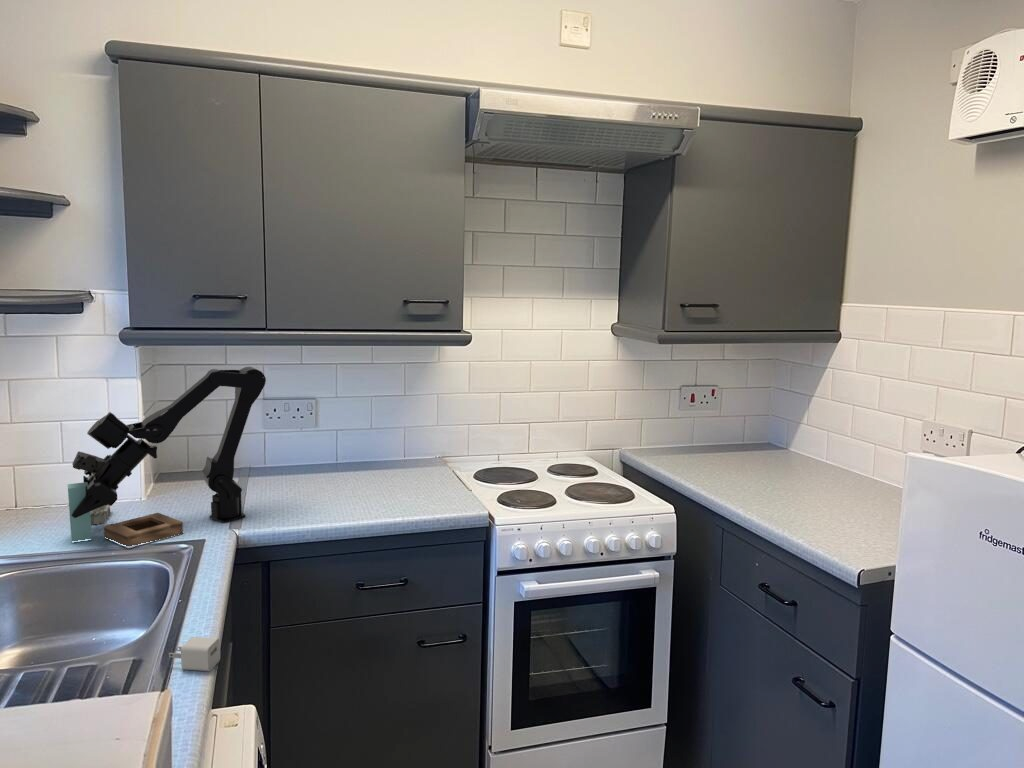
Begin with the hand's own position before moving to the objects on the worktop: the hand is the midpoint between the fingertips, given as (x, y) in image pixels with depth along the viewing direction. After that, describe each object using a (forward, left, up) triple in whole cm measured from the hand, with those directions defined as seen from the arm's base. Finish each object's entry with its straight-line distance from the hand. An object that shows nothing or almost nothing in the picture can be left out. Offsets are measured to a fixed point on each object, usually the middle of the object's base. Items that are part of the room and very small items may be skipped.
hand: (72, 513), depth 168 cm
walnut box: (-11, +10, -7) cm, 16 cm away
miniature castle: (-10, -12, -7) cm, 17 cm away
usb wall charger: (+13, +72, -7) cm, 74 cm away
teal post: (-1, +1, -7) cm, 7 cm away
